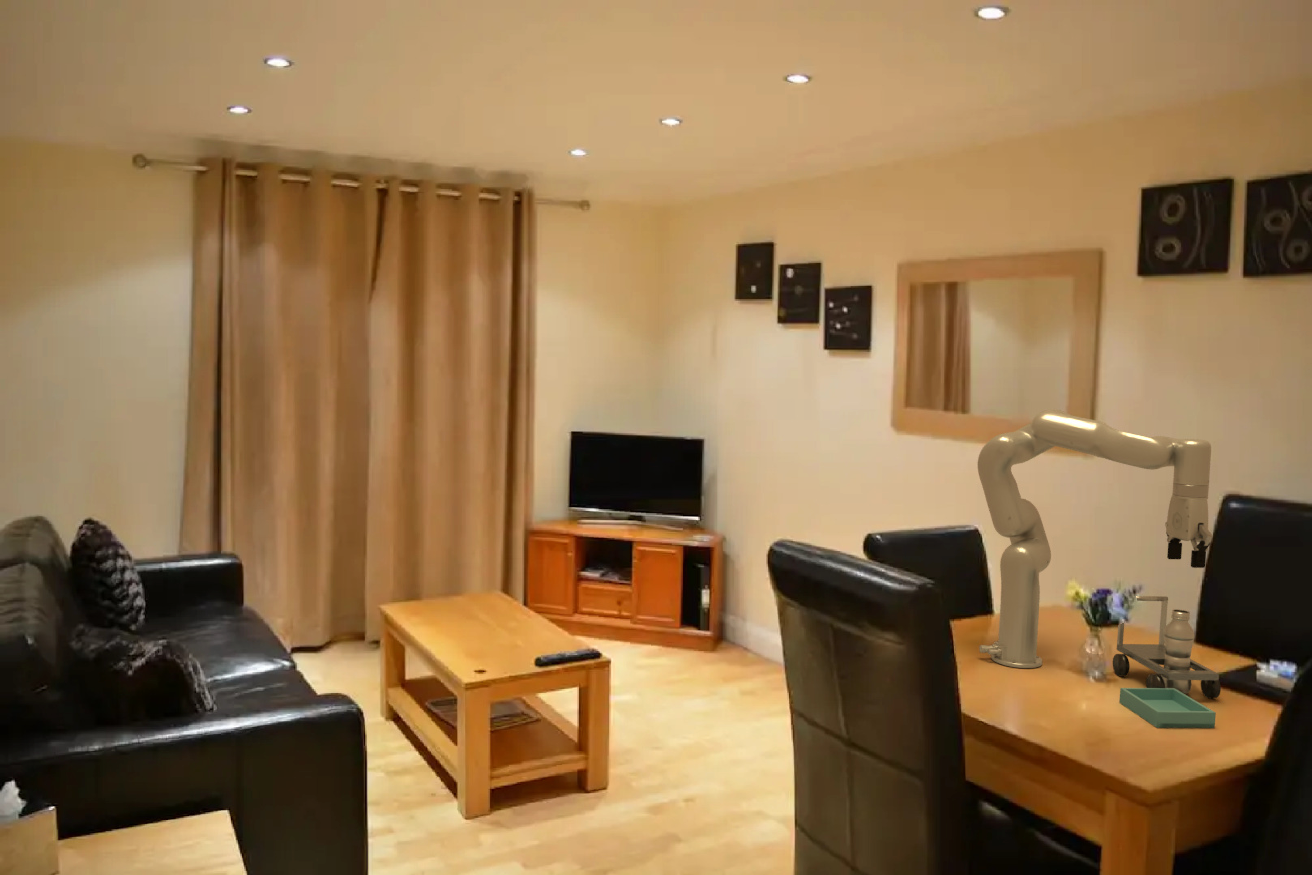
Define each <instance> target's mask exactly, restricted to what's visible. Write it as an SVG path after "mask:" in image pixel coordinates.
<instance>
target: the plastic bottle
mask: <svg viewBox="0 0 1312 875" xmlns="http://www.w3.org/2000/svg"><path fill="white" fill-rule="evenodd" d="M1190 614H1191V613H1190V611H1188V610H1184V609H1174V608H1173V609H1172V612H1171V619H1172V620H1171V621H1170V622H1168V624H1166V627H1165V629H1164V640H1165V661H1164V665H1163V668H1165V669H1167V670H1191V668H1190V659H1191V656H1192V649H1193V645H1194V642H1195V641H1194V640H1195V631H1194V629H1193V627H1192V626H1191V624H1190V623H1189V621H1190V620H1191V618H1190ZM1162 678H1163V680H1164V683H1165V688H1175V689H1177V690H1178V691H1180V692H1182V693H1183V694H1185V695H1188V694H1189V693H1190V691H1192V686H1193V685H1192V683H1193V682H1192V680H1168V679H1167V678H1165V677H1163V676H1162Z"/></svg>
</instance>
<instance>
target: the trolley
mask: <svg viewBox="0 0 1312 875" xmlns="http://www.w3.org/2000/svg"><path fill="white" fill-rule="evenodd" d="M1135 596H1136V598H1137V601H1136V602H1161V608H1160V609H1161V610H1160V619H1159V634H1158V635H1159V636H1158V643H1156V644H1155V643H1154V644H1153V643H1152V644H1151V643H1148V644H1147V643H1124V635H1125V634H1124V632H1125V622H1124V623H1122V624H1120V625H1117V639H1116V650H1117V651H1118V652H1120V653H1115V654H1114V656H1113V658H1112V668H1113V672H1114V673H1115V675H1116V676H1117V677H1126V676H1128V675H1129V673H1130V669H1131V668H1130V667H1131V666H1130V660H1129V658H1130V659H1132V660H1134V661H1135V662H1138V664H1140V665H1142V666H1144V667H1146V668H1148V669H1149V670H1151V671H1153V672H1154V673H1149V674H1148V676H1147V677H1146V681H1145V682H1146V683H1145V685H1146V686H1145V688H1165V683H1164V680H1163V678H1162V676H1163V677H1165V678H1167V679H1168V680H1191V681H1200V689H1201V692H1202V694H1203V696H1204V697H1205V698H1207V699H1217V698H1219V696H1220V695H1221V690H1222V688H1221V687H1222V686H1221V682H1220V680H1219V679H1220V674H1219V672H1216V671H1214V670H1212V669H1210V668H1209V667H1206V666H1205V665H1202V664H1201V663H1198V662H1197V661H1195V660H1193V659H1192V658H1190V670H1167V669H1165V668H1164V661H1165V640H1164V629H1165V627H1166V626H1167V620H1168V619H1167V616H1168V605H1169V602H1168V601H1169V597H1168V596H1162V595H1161V596H1160V595H1159V596H1155V595H1154V596H1153V595H1149V596H1148V595H1135Z"/></svg>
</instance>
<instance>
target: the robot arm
mask: <svg viewBox="0 0 1312 875" xmlns="http://www.w3.org/2000/svg"><path fill="white" fill-rule="evenodd" d="M1054 447H1058V448H1062V449H1067V450H1072V451H1075V452H1079V453H1082V454H1086V455H1087V454H1088V455H1091V456H1094V457H1097V458H1101V459H1105V460H1108V461H1112V462H1116V463H1119V464H1122V465H1127V466H1132V467H1136V468H1140V469H1143V470H1144V469H1145V470H1150V471H1151V470H1153V471H1154V470H1158V469H1162V468H1166V467H1173V480H1172V495H1171V497H1170V500H1169V504H1168V509H1167V510H1168V511H1167V518H1166V522H1165V524H1164V525H1165V529H1166V530H1165V531H1166V532H1165V534H1166V536H1167V539H1166V541H1167V554H1166V555H1167V559H1168V560H1181V559H1182V554H1183V553H1182V552H1183V551H1182V550H1183V542H1182V541H1184V542H1189V541H1190V543H1191V546H1192V550H1191V555H1190V556H1191V558H1190V568H1194V569H1197V568H1199V569H1204V568H1206V563H1207V562H1206V560H1207V558H1206V557H1207V552H1208V550H1209V547H1210V546H1211V541H1212V538H1213V534H1212V533H1211V532H1210V530H1209V504H1208V500H1209V491H1210V490H1209V488H1210V486H1209V485H1210V470H1211V461H1212V460H1211V456H1212V444H1211V443H1210V442H1209V441H1207V440H1205V439H1198V438H1197V439H1195V438H1183V439H1182V438H1181V439H1180V438H1174V437H1168V436H1162V435H1157V436H1149V437H1148V436H1144V435H1140V434H1135V433H1131V432H1126V431H1122V430H1119V429H1116V428H1114V427H1112V426H1110V425H1109V424H1107V423H1106V422H1103V421H1100V420H1096V419H1091V418H1084V417H1081V416H1077V415H1071V414H1069V413H1068V412H1066V411H1063V410H1060V409H1049V410H1045V411H1044V410H1043V411H1041V412H1039V413H1038V414H1036V415H1035V416H1034V418H1033V420H1032V422H1030V423H1028V424H1027V425H1025V426H1023V427H1021V428H1019V429H1017V430H1015V431H1011V432H1004V433H1001V434H998V435H995V436H994V437H992V438H991V439H990V440H989V441H987V443H985V445H984V446H982V448H981V450H980V452H979V455H978V457H977V458H978V459H977V472H978V477H979V479H980V483H981V486H982V491H983V493H984V497H985V500H986V504H987V507H988V511H989V513H990V518H991V521H992V525H993V527H994V529H995V531H996V532H997V533H998V535H1000V536H1001V537H1004V538H1009V540H1010V544H1009V545H1008V546H1006V548H1005V549H1004V550H1003V553H1002V554H1001V557H1000V560H999V561H1000V562H999V568H1000V569H999V572H1000V605H999V606H1000V608H999V621H998V622H999V624H998V640H995V641H994V643H993V644H991V645H986V644H980V645H979V653H981V654H982V653H984V654H985V653H986V654H988V655H991V656H990V659H991V660H992V661H993V662H995V663H996V664H1000V665H1003V666H1005V667H1011V668H1019V669H1034V668H1039V667H1041V666H1042V665H1043V659H1042V658H1041V656H1038V655H1037V651H1038V650H1037V649H1038V632H1039V630H1038V629H1039V619H1040V618H1039V617H1040V601H1041V600H1040V599H1041V598H1040V597H1041V596H1040V593H1041V591H1040V590H1041V589H1040V587H1041V586H1040V573H1041V572H1043V571H1045V570H1046V569H1047V568H1048V566H1049V565H1050V562H1051V560H1052V552H1051V551H1052V550H1051V546H1050V543H1049V541H1048V537H1047V533H1046V530H1045V527H1044V524H1043V521H1042V517H1041V516H1040V513H1039V511H1038V509H1037V507H1036V506H1035V504H1034V503H1032V502H1031V501H1029V500H1027V499H1026V498H1022V496H1021V494H1020V491H1019V487H1018V486H1019V485H1018V483H1017V480H1016V478H1015V477H1014V475H1013V473H1012V467H1013V466H1014V465H1018V464H1023V463H1026V462H1028V461H1031V460H1032V459H1035V458H1036V457H1038V456H1039V455H1041V454H1043V453H1045V452H1047V451H1048V450H1051V449H1053V448H1054Z"/></svg>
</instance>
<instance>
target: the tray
mask: <svg viewBox="0 0 1312 875" xmlns="http://www.w3.org/2000/svg"><path fill="white" fill-rule="evenodd" d="M1118 703H1119V704H1121V705H1123V706H1124V707H1125V708H1127V709H1128V710H1130V711H1131V712H1133V713H1134V714H1135V715H1137V716H1139V717H1140V718H1141V719H1143V720H1145V721H1146V722H1147V723H1149V724H1150V725H1152V726H1153V727H1155V728H1156V729H1215V728H1216V726H1215V725H1216V717H1217V716H1216V715H1217V712H1215V711H1214V710H1213V709H1210V707H1207V706H1205V705H1204V704H1202V703H1200V702H1198V701H1197V700H1196V699H1194V698H1193V697H1192V698H1191V697H1190V696H1188V694H1183V693H1182V692H1180V691H1178V690H1177V689H1175V688H1147V687H1119V702H1118Z"/></svg>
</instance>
